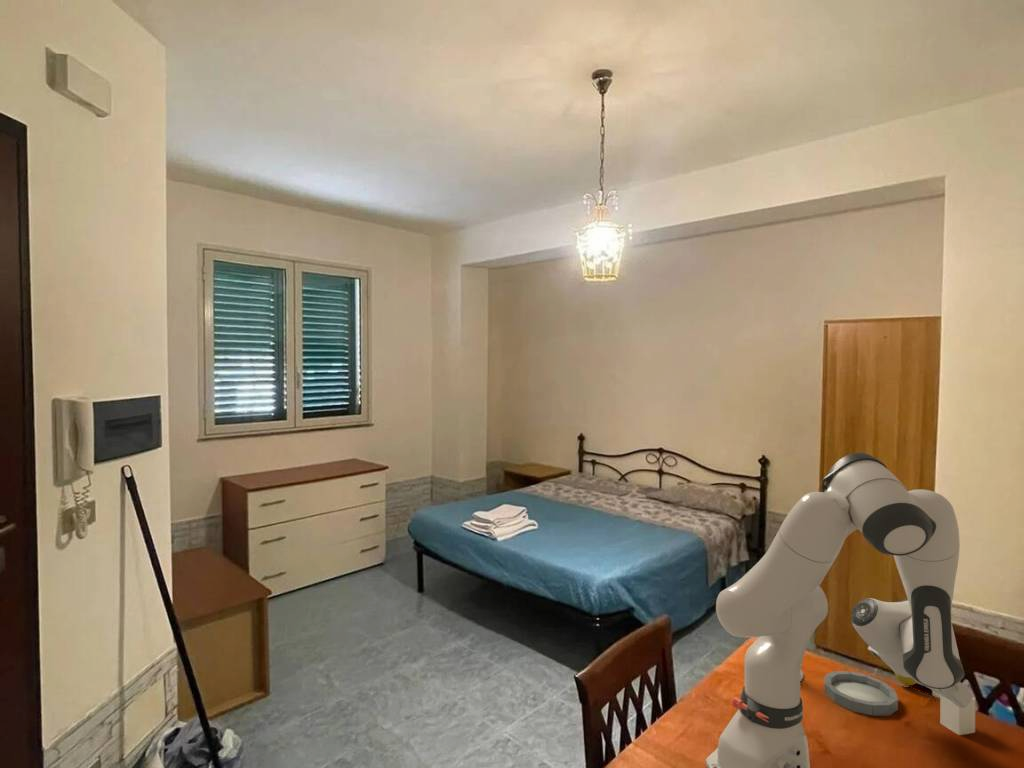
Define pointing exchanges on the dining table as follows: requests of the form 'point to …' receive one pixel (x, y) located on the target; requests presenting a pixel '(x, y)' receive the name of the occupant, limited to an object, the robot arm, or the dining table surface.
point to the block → (957, 716)
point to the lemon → (905, 680)
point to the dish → (861, 693)
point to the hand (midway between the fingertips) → (941, 692)
